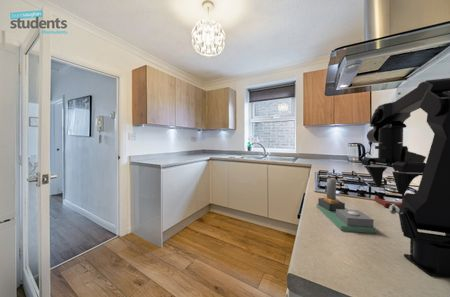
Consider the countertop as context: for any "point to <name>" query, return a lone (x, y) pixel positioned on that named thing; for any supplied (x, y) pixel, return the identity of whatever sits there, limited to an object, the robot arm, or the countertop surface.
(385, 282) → the countertop surface
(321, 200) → the frame
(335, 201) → the plug
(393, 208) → the pliers
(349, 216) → the grey button box
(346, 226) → the board
